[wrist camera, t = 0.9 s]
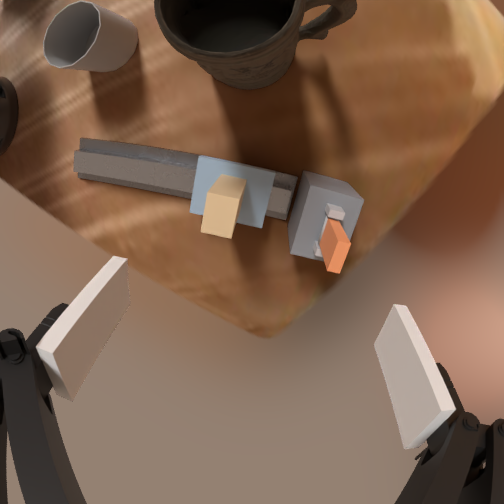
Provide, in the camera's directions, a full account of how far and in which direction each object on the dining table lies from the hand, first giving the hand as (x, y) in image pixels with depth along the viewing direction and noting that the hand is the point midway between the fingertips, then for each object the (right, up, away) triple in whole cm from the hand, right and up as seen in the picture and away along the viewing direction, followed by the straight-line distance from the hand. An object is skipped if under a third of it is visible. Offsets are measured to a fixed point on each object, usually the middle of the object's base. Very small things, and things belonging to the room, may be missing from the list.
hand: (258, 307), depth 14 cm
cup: (-19, +31, +17) cm, 40 cm away
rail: (-10, +13, +24) cm, 29 cm away
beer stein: (+2, +28, +16) cm, 32 cm away
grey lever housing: (+8, +9, +25) cm, 28 cm away
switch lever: (+8, +5, +17) cm, 19 cm away
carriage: (-3, +11, +25) cm, 27 cm away
